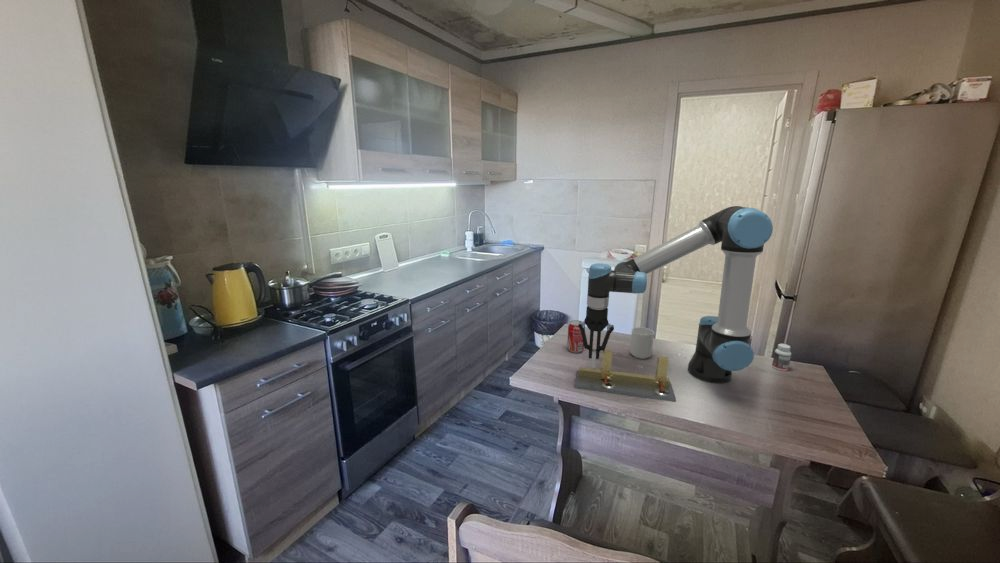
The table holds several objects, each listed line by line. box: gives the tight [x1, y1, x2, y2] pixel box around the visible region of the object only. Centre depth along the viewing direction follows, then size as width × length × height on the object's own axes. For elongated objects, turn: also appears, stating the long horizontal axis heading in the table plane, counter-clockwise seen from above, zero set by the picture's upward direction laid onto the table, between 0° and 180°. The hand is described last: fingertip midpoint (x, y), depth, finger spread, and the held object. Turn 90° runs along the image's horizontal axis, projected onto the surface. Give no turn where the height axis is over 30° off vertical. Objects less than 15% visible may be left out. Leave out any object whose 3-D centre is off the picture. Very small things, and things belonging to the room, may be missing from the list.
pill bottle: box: [771, 343, 792, 372], centre depth 155 cm, size 5×5×10 cm
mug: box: [629, 326, 655, 360], centre depth 167 cm, size 12×9×11 cm
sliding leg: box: [601, 348, 613, 384], centre depth 142 cm, size 3×8×10 cm, turn 165°
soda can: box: [566, 319, 585, 354], centre depth 170 cm, size 7×7×13 cm
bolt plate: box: [574, 355, 677, 402], centre depth 140 cm, size 34×11×12 cm, turn 75°
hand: (593, 366), depth 146 cm, fingers closed
